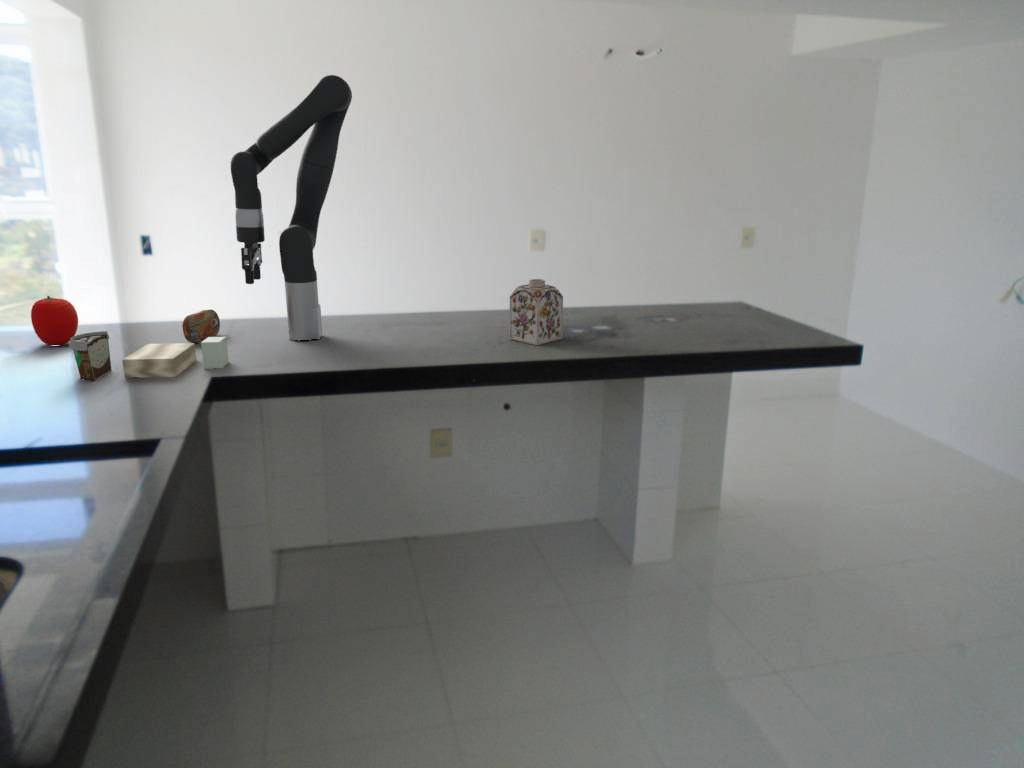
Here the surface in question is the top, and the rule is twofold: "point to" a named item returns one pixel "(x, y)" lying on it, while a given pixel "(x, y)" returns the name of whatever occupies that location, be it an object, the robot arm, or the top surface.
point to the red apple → (54, 320)
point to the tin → (201, 326)
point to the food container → (92, 354)
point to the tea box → (214, 352)
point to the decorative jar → (536, 313)
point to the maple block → (159, 360)
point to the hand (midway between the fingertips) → (253, 281)
